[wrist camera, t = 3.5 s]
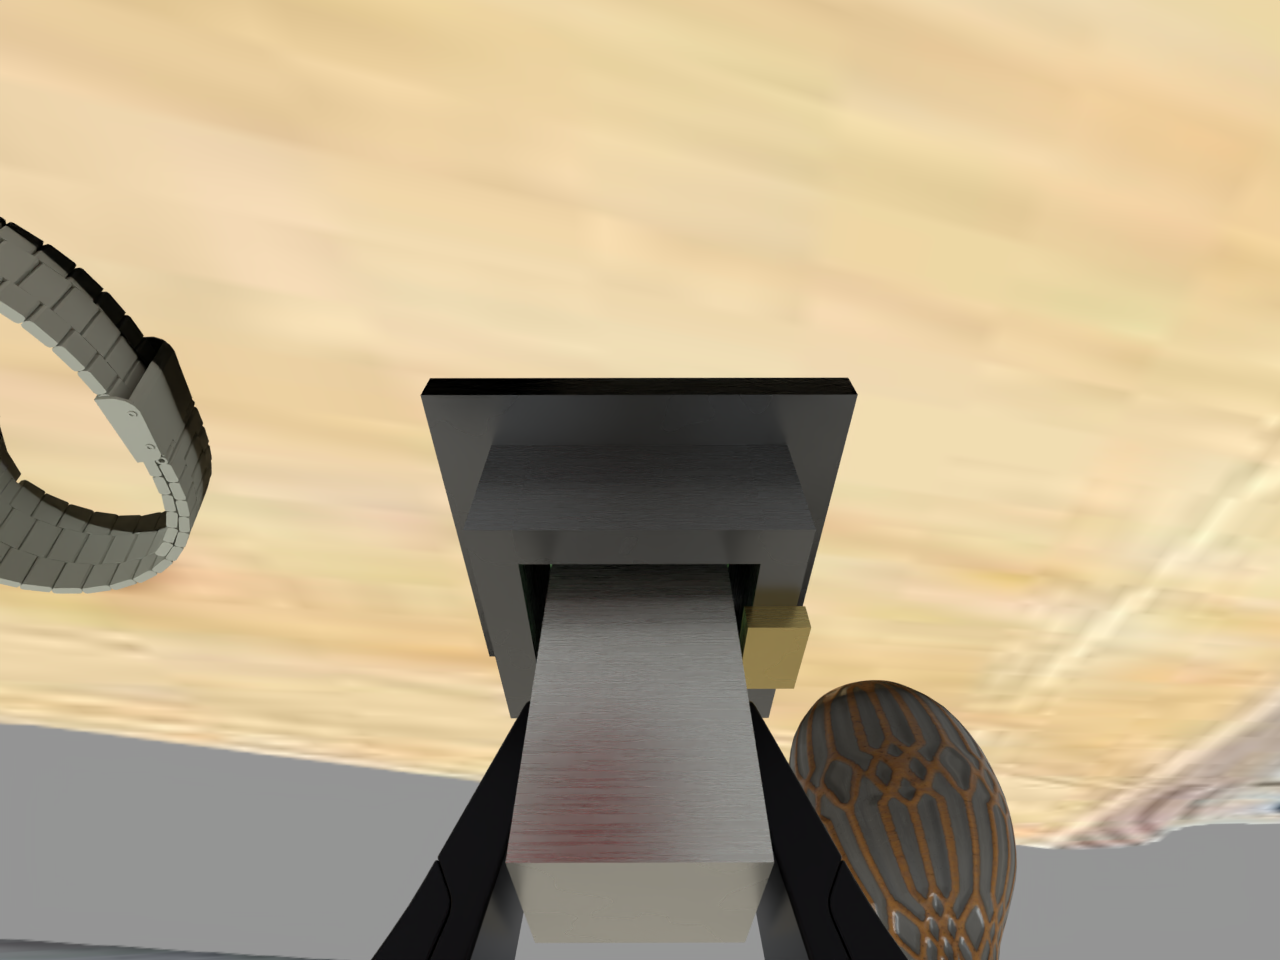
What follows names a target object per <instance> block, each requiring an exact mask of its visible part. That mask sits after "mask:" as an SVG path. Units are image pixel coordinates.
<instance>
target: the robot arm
mask: <svg viewBox="0 0 1280 960" xmlns="http://www.w3.org/2000/svg"><path fill="white" fill-rule="evenodd" d="M749 706H750V712H751V718H752V725H753V731H754V737H755V744H756V750H757V756H758V763H759V769H760V775H761V782H762V788H763V794H764V801H765V807H766V813H767V820H768V826H769V832H770V839H771V845H772V851H773V858H774V864H773V867H772V870H771V873H770V875H769V878H768V881H767V884H766V886H765V889H764V892H763V895H762V897H761V900H760V903H759V905H758V908H757V911H756V916H757V921H758V926H759V932H760V937H761V942H762V948H763V953H764V959H765V960H908V958H907V957H906V955H905V954H904V953H903V951H902V950H901V948H900V947H899V945H898V944H897V943H896V941H895V940H894V938H893V937H892V936H891V934H890V933H889V931H888V930H887V928H886V927H885V925H884V924H883V922H882V921H881V919H880V918H879V916H878V915H877V913H876V912H875V910H874V909H873V907H872V906H871V904H870V903H869V901H868V899H867V898H866V896H865V895H864V893H863V891H862V890H861V888H860V886H859V885H858V883H857V881H856V880H855V878H854V876H853V875H852V873H851V871H850V869H849V868H848V866H847V864H846V862H845V861H844V860H842V856H841V854H840V852H839V850H838V849H837V847H836V845H835V843H834V842H833V840H832V838H831V836H830V835H829V833H828V831H827V830H826V828H825V826H824V824H823V823H822V821H821V819H820V817H819V816H818V814H817V812H816V810H815V809H814V807H813V805H812V803H811V802H810V800H809V798H808V796H807V795H806V793H805V791H804V789H803V788H802V786H801V784H800V782H799V781H798V779H797V777H796V775H795V774H794V772H793V770H792V768H791V767H790V765H789V763H788V762H787V760H786V758H785V756H784V755H783V753H782V751H781V749H780V748H779V746H778V744H777V742H776V741H775V739H774V737H773V735H772V734H771V732H770V730H769V728H768V727H767V725H766V723H765V721H764V720H763V718H762V716H761V714H760V713H759V711H758V709H757V707H756V706H755V704H754V703H753V702H751V701H749ZM529 708H530V701H528V702H527V703H526V704H525V705H524V707H523V708H522V710H521V712H520V714H519V715H518V717H517V719H516V721H515V722H514V724H513V726H512V728H511V729H510V731H509V733H508V735H507V736H506V738H505V740H504V742H503V743H502V745H501V747H500V749H499V750H498V752H497V754H496V755H495V757H494V759H493V761H492V762H491V764H490V766H489V768H488V769H487V771H486V773H485V775H484V776H483V778H482V780H481V782H480V783H479V785H478V787H477V789H476V790H475V792H474V794H473V796H472V797H471V799H470V801H469V803H468V804H467V806H466V808H465V809H464V811H463V813H462V815H461V816H460V818H459V820H458V822H457V823H456V825H455V827H454V829H453V830H452V832H451V834H450V836H449V837H448V839H447V841H446V843H445V844H444V846H443V848H442V850H441V851H440V853H439V855H438V860H435V861H434V863H433V865H432V867H431V868H430V870H429V872H428V874H427V875H426V877H425V879H424V880H423V882H422V884H421V885H420V887H419V889H418V890H417V892H416V894H415V895H414V897H413V899H412V900H411V902H410V903H409V905H408V907H407V908H406V910H405V911H404V913H403V914H402V916H401V917H400V918H399V920H398V921H397V923H396V924H395V926H394V927H393V929H392V930H391V932H390V933H389V935H388V936H387V938H386V939H385V940H384V942H383V943H382V945H381V946H380V947H379V949H378V950H377V952H376V953H375V954H374V956H373V957H372V959H371V960H515V956H516V951H517V945H518V940H519V935H520V929H521V924H522V919H523V913H524V912H523V909H522V906H521V904H520V901H519V898H518V895H517V893H516V890H515V887H514V885H513V882H512V879H511V877H510V874H509V871H508V868H507V866H506V856H507V850H508V843H509V837H510V830H511V824H512V818H513V811H514V805H515V798H516V792H517V785H518V779H519V772H520V766H521V760H522V753H523V747H524V740H525V734H526V727H527V721H528V714H529Z"/></svg>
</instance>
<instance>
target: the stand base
mask: <svg viewBox="0 0 1280 960" xmlns="http://www.w3.org/2000/svg"><path fill="white" fill-rule="evenodd" d="M420 396H421V399H422V403H423V407H424V411H425V414H426V418H427V422H428V426H429V430H430V433H431V437H432V441H433V445H434V449H435V452H436V456H437V460H438V464H439V467H440V471H441V475H442V479H443V483H444V486H445V490H446V494H447V498H448V501H449V505H450V509H451V513H452V517H453V520H454V524H455V528H456V532H457V536H458V539H459V543H460V547H461V551H462V554H463V558H464V562H465V566H466V570H467V573H468V577H469V581H470V585H471V588H472V592H473V596H474V600H475V604H476V607H477V611H478V615H479V619H480V622H481V626H482V630H483V634H484V638H485V641H486V645H487V649H488V653H489V657H495V659H496V662H497V666H498V670H499V674H500V678H501V682H502V686H503V690H504V694H505V698H506V702H507V706H508V710H509V713H510V717H511V718H517V717H518V715H519V714H520V712H521V710H522V708H523V707H524V705H525V704H526V703H527V702H528V701H531V695H532V689H533V682H534V676H535V669H536V663H537V656H538V650H539V643H540V637H541V631H542V624H543V618H544V611H545V605H546V598H547V592H548V585H549V579H550V573H551V565H550V564H729V565H728V572H729V579H730V585H731V592H732V598H733V604H734V611H735V617H736V623H737V630H738V636H739V642H740V649H741V655H742V661H743V668H744V674H745V680H746V687H747V693H748V699H749V701H751V702H753V703H754V704H755V706H756V707H757V709H758V711H759V713H760V714H761V716H762V718H769V715H770V711H771V707H772V703H773V699H774V695H775V691H776V689H794V687H795V683H796V680H797V676H798V673H799V669H800V666H801V662H802V659H803V655H804V652H805V648H806V645H807V641H808V638H809V634H810V631H811V625H810V621H809V617H808V614H807V610H806V606H803V603H804V599H805V596H806V592H807V588H808V584H809V580H810V576H811V573H812V569H813V565H814V561H815V557H816V553H817V550H818V546H819V542H820V538H821V534H822V530H823V527H824V523H825V519H826V515H827V511H828V507H829V503H830V500H831V496H832V492H833V488H834V484H835V480H836V477H837V473H838V469H839V465H840V461H841V457H842V454H843V450H844V446H845V442H846V438H847V434H848V431H849V427H850V423H851V419H852V415H853V411H854V408H855V404H856V400H857V396H858V394H857V392H856V390H855V389H854V387H853V385H852V383H851V382H850V380H849V378H430V379H429V381H428V383H427V384H426V386H425V388H424V390H423V392H422V393H421V395H420Z"/></svg>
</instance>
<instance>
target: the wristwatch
mask: <svg viewBox="0 0 1280 960" xmlns="http://www.w3.org/2000/svg"><path fill="white" fill-rule="evenodd" d="M43 243H44V241H43V240H41V239H39V238H38V237H36V236H35V235H33V234H31V233H30V232H28V231H26V230H25V229H23V228H22V227H20V226H18V225H17V224H15V223H13V222H9V223H7V224H6V220H5V219H4V218H2V217H0V313H1V314H2V315H4V316H5V317H7V318H8V319H10V320H11V321H13V322H15V323H18V324H19V323H22V324H21V326H22V328H24V329H25V330H26V331H27V332H29V333H30V334H31V335H33V336H34V337H35V338H36V339H38V340H39V341H40V342H41V343H43V344H44V345H45V346H47V347H49V348H51V347H53V348H52V351H53V352H54V353H55V354H56V355H57V356H58V357H59V358H60V359H61V360H62V361H63V362H65V363H66V364H67V365H68V366H69V367H70V368H71V369H72V370H74V371H78V376H79V377H80V378H81V379H82V380H83V381H84V383H85V384H86V385H87V386H88V387H89V388H90V389H91V390H92V391H93V393H95V394H97V396H96V397H95V399H94V401H95V402H96V403H97V405H98V406H99V408H100V409H101V411H102V412H103V414H104V415H105V417H106V418H107V419H108V421H109V422H110V424H111V425H112V427H113V428H114V430H115V431H116V433H117V434H118V435H119V437H120V438H121V440H122V441H123V443H124V444H125V446H126V447H127V448H128V450H129V451H130V453H131V454H132V456H133V457H134V459H135V460H136V462H137V463H139V462H144V464H145V466H146V468H147V470H148V472H149V474H150V475H151V476H153V480H154V483H155V485H156V487H157V490H158V492H159V493H160V494H162V495H161V496H162V500H163V504H164V509H165V510H166V511H164V512H162V513H161V512H157V513H152V514H147V515H143V516H141V515H119V516H118V515H117V514H111V513H104V512H94V511H93V510H90V509H87V508H83V507H80V506H76V505H73V504H69V503H68V502H66V501H64V500H62V499H59V498H57V497H54V496H52V495H50V494H47V493H46V492H45V491H44V490H42V489H41V488H39V487H37V486H36V485H34V484H32V483H31V482H29V481H27V480H22V481H20V482H19V483H17V482H16V481H17V480H18V478H19V477H20V475H21V473H20V471H19V469H18V468H17V466H16V464H15V463H14V461H13V460H12V458H11V456H10V455H9V453H8V451H7V448H6V445H5V441H4V438H3V434H2V431H1V427H0V584H3V585H8V586H12V587H16V588H17V587H19V586H20V588H21V589H23V590H32V591H41V592H50V591H51V590H52V592H53V593H56V594H80V593H82V591H83V592H84V593H87V594H89V593H96V592H102V591H109V590H111V589H114V590H118V589H121V588H124V587H128V586H131V585H134V584H137V582H138V583H142V582H144V581H146V580H148V579H150V578H152V577H154V576H156V575H157V573H162V572H163V571H164V570H165V569H167V568H168V567H169V566H170V565H171V564H172V563H173V561H176V560H177V558H178V557H179V555H180V554H181V552H182V551H183V549H184V547H185V546H186V544H187V541H188V538H189V535H190V532H191V529H192V527H193V525H194V522H195V519H196V517H197V514H198V512H199V509H200V507H201V504H202V502H203V499H204V497H205V494H206V491H207V489H208V485H209V481H210V477H211V475H212V462H211V460H212V455H211V450H210V446H209V444H208V443H209V440H208V436H207V433H206V430H205V428H204V426H203V421H202V419H201V416H200V414H199V411H198V409H197V408H196V407H194V405H195V402H194V401H193V399H192V396H191V393H190V390H189V388H188V385H187V382H186V380H185V377H184V375H183V372H182V369H181V367H180V364H179V361H178V358H177V356H176V353H175V351H174V349H173V348H172V347H171V345H170V344H168V343H167V342H166V341H165V340H163V339H160V338H157V337H143V336H144V335H143V333H142V332H141V331H140V329H139V328H138V326H137V325H136V324H135V322H134V321H133V320H132V318H131V317H130V316H129V315H125V313H126V312H125V311H124V310H123V308H122V307H121V306H120V305H119V304H118V303H117V301H116V300H115V299H114V298H113V297H112V296H111V294H110V293H108V292H102V291H103V289H104V288H102V287H101V286H100V285H99V284H98V283H97V282H96V281H95V280H94V279H93V278H92V277H91V276H90V275H89V274H88V273H87V272H86V271H85V270H84V269H82V268H75V267H76V266H77V265H76V264H75V262H73V261H72V260H71V259H69V258H68V257H67V256H65V255H64V254H63V253H61V252H60V251H59V250H57V249H56V248H55V247H53V246H52V245H50V244H46V245H43ZM45 493H46V494H45Z"/></svg>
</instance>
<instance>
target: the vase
mask: <svg viewBox="0 0 1280 960" xmlns="http://www.w3.org/2000/svg"><path fill="white" fill-rule="evenodd" d="M789 765H790V767H791V768H792V770H793V772H794V774H795V775H796V777H797V779H798V781H799V782H800V784H801V786H802V788H803V789H804V791H805V793H806V795H807V796H808V798H809V800H810V802H811V803H812V805H813V807H814V809H815V810H816V812H817V814H818V816H819V817H820V819H821V821H822V823H823V824H824V826H825V828H826V830H827V831H828V833H829V835H830V836H831V838H832V840H833V842H834V843H835V845H836V847H837V849H838V850H839V852H840V854H841V856H842V860H844V861H845V862H846V864H847V866H848V868H849V869H850V871H851V873H852V875H853V876H854V878H855V880H856V881H857V883H858V885H859V886H860V888H861V890H862V891H863V893H864V895H865V896H866V898H867V899H868V901H869V903H870V904H871V906H872V907H873V909H874V910H875V912H876V913H877V915H878V916H879V918H880V919H881V921H882V922H883V924H884V925H885V927H886V928H887V930H888V931H889V933H890V934H891V936H892V937H893V938H894V940H895V941H896V943H897V944H898V945H899V947H900V948H901V950H902V951H903V953H904V954H905V955H906V957H907V958H908V960H999V955H1000V944H1001V940H1002V936H1003V932H1004V928H1005V924H1006V921H1007V917H1008V913H1009V909H1010V904H1011V900H1012V896H1013V891H1014V886H1015V881H1016V873H1017V853H1016V843H1015V836H1014V830H1013V824H1012V820H1011V816H1010V812H1009V808H1008V805H1007V802H1006V798H1005V796H1004V793H1003V791H1002V788H1001V786H1000V784H999V781H998V779H997V777H996V775H995V773H994V771H993V769H992V767H991V765H990V763H989V762H988V760H987V758H986V756H985V755H984V753H983V751H982V749H981V748H980V746H979V745H978V744H977V742H976V741H975V740H974V738H973V737H972V736H971V734H970V733H969V732H968V730H967V729H966V728H965V727H964V726H963V725H962V724H961V722H960V721H959V720H958V719H957V718H956V717H955V716H954V715H953V714H951V713H950V712H949V711H948V710H947V709H946V708H945V707H944V706H942V705H941V704H939V703H938V702H936V701H935V700H933V699H932V698H930V697H929V696H927V695H925V694H923V693H921V692H919V691H916V690H914V689H912V688H910V687H907V686H905V685H902V684H899V683H896V682H891V681H885V680H866V681H858V682H853V683H849V684H846V685H843V686H840V687H837V688H835V689H833V690H831V691H829V692H828V693H826V694H824V695H823V696H822V697H820V698H819V699H818V700H817V701H816V702H815V703H814V705H813V706H812V707H811V708H810V709H809V711H808V712H807V714H806V715H805V716H804V718H803V719H802V721H801V722H800V725H799V727H798V729H797V731H796V733H795V735H794V738H793V742H792V746H791V750H790V758H789Z"/></svg>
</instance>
